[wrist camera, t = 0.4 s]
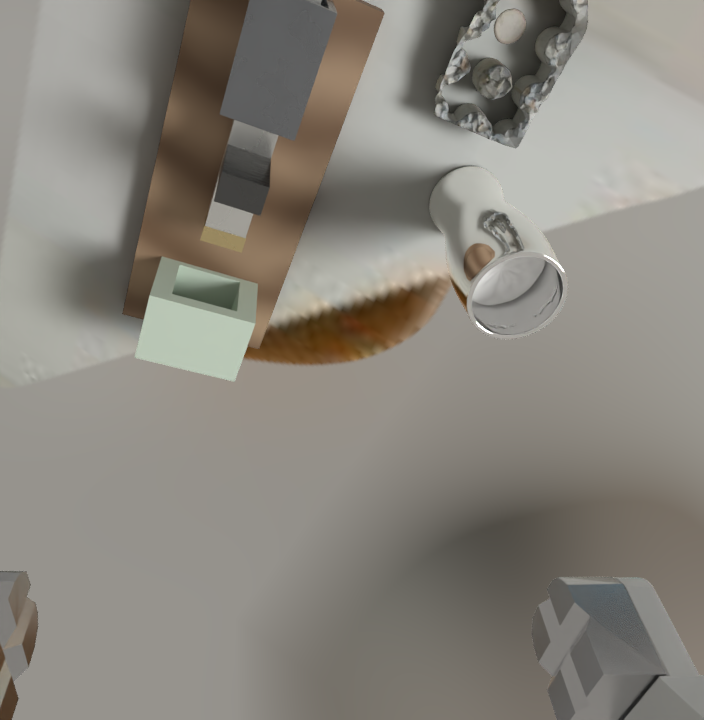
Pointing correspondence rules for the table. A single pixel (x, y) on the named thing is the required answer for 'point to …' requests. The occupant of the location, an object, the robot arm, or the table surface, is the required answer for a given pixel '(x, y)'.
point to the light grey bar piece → (240, 185)
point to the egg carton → (496, 78)
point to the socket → (198, 320)
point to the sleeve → (277, 63)
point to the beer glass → (496, 256)
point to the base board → (207, 146)
